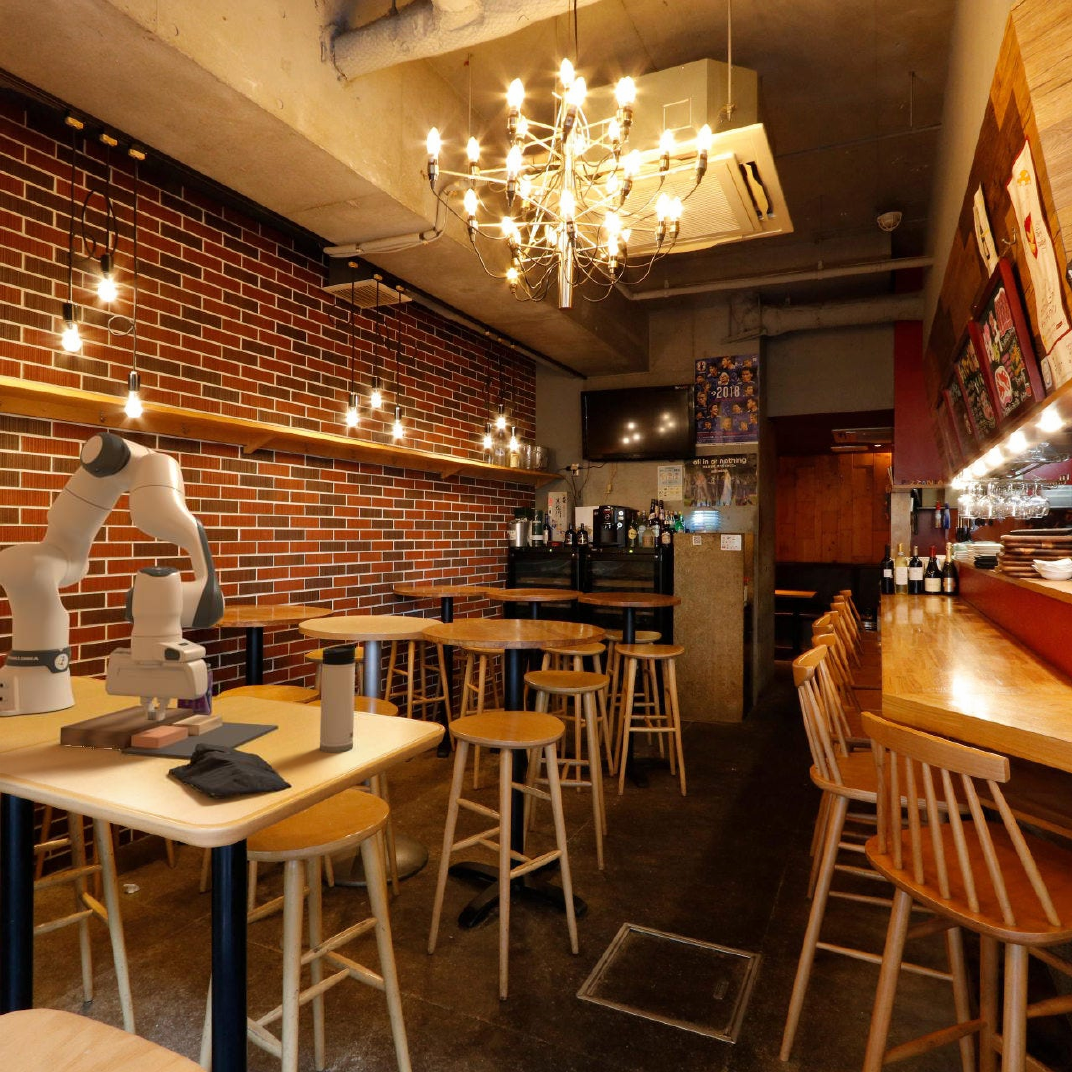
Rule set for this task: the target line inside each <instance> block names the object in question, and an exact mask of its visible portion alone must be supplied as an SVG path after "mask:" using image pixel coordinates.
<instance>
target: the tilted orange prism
mask: <svg viewBox="0 0 1072 1072" xmlns="http://www.w3.org/2000/svg"><path fill="white" fill-rule="evenodd" d="M186 738H188V728H185V727H173V726H160V727H157V728H153V729H150V730H147V731H144V732H141V733H138V734H135V735H132V737H131V746H136V747H147V748H161V747H164V746H166V745H169V744H172V743H175V742H178V741H180V740H183V739H186Z"/></svg>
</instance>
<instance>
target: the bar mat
mask: <svg viewBox="0 0 1072 1072" xmlns="http://www.w3.org/2000/svg"><path fill="white" fill-rule="evenodd" d="M278 729H279V725H274V724H261V723H260V724H259V723H244V722H243V723H241V722H227V721H222V726H220V727H218V728H215V729H213V730H210V731H208V732H205V733H203V734H200V735H190V734H188V738H186V739H183V740H180V741H178V742H175V743H172V744H169V745H166V746H164V747H161V748H147V747H136V746H132V747H129V748H127V749H124V750H120V754H121V755H129V754H131V756H142V757H143V756H145V757H146V756H147V757H157V758H170V759H171V758H172V759H183V760H190V758H191V757H192V754H193V752H194V751H195V747H196V745H197V744H201V743H205V744H210V745H218V746H226V747H229V748H233V749H236V748H238V747H240V746H243V745H245V744H247V743H249V742H252V741H253V740H256V739H258V738H260V737H262V735H263V736H264V735H267V734H268V732H269V733H271V732H274V731H276V730H278Z"/></svg>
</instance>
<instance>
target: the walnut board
mask: <svg viewBox="0 0 1072 1072" xmlns="http://www.w3.org/2000/svg"><path fill="white" fill-rule="evenodd" d="M154 708H155V710H157V708H158V706H154ZM145 714H146V711H145V710H144V708H143V707H142V705H134V706H131V707H127V708H123V709H120V710H116V711H113V712H110V713H107V714H102V715H99V716H96V717H93V718H89V719H86V720H82V721H79V722H75V723H71V724H67V725H65V726H64V725H63V726H61V727H60V732H59V733H60V735H59V736H60V737H59V738H60V739H59V746H60V745H71V746H82V747H81V748H84V747H92V748H91V749H97V748H112V749H118V750H117V751H121V750H124V749H127V748H129V747H132V746H131V737H132V735H135V734H138V733H141V732H144V731H147V730H150V729H153V728H157V727H160V726H172V725H173V723H176V722H178V721H181V720H184V719H187V718H189V717H192V716H193V709H182V708H177V707H167V708H166V710H165V718H164V719H163V720H160V721H156V720H146V719H145ZM83 746H84V747H83ZM93 747H94V748H93ZM119 749H120V750H119Z"/></svg>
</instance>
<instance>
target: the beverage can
mask: <svg viewBox="0 0 1072 1072" xmlns="http://www.w3.org/2000/svg"><path fill="white" fill-rule="evenodd" d="M205 664H206V667H207V692H206V693H205V695H204V696H203V697H200V698H197V699H193V700H190V699H176V700H177V701H176V702H177V703H176V704H177V705H176V708H182V709H193V716H195V715H210V716H212V712H213V708H212V705H213V673H214V672H213V670H212V668H211V663H209V662H208V663H206V662H205Z"/></svg>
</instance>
